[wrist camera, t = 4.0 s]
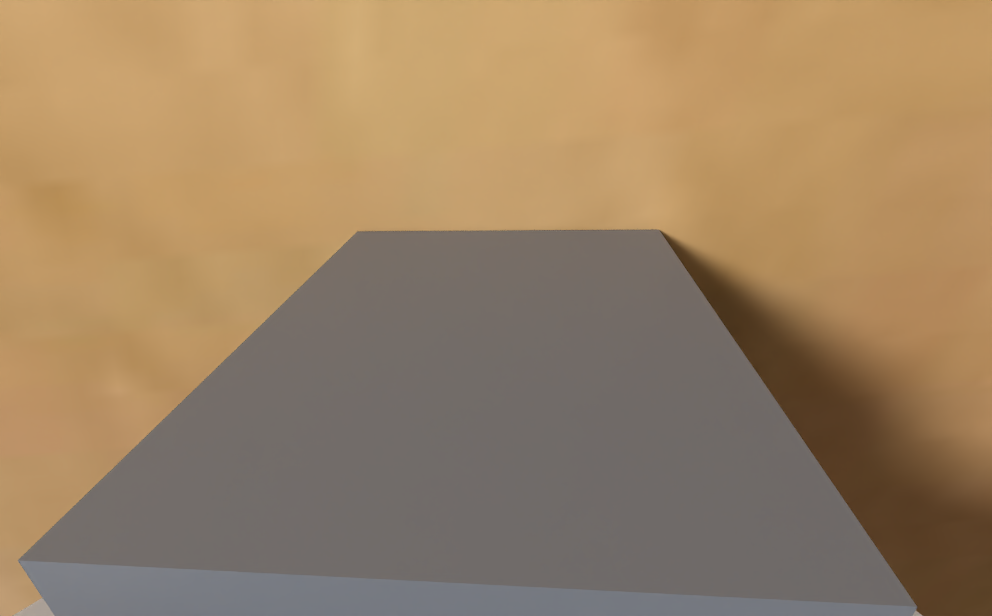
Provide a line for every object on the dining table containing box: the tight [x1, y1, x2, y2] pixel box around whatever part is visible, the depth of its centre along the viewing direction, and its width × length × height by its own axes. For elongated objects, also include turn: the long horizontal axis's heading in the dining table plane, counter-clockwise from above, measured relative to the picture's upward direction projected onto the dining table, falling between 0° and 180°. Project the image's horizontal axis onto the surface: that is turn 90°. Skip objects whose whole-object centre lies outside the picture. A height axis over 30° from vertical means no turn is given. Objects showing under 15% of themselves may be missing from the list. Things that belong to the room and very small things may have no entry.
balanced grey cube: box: [18, 230, 917, 616], centre depth 9 cm, size 7×7×9 cm
